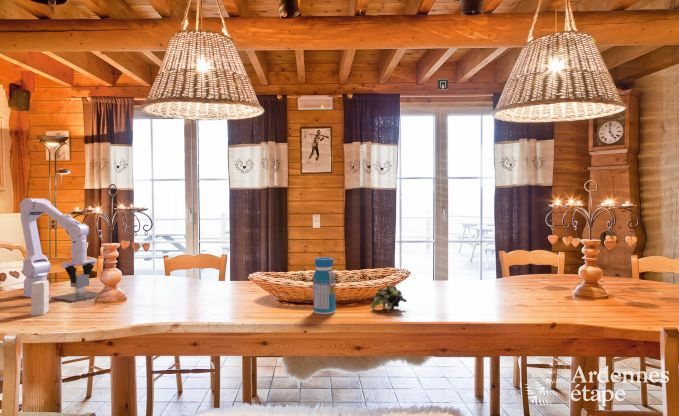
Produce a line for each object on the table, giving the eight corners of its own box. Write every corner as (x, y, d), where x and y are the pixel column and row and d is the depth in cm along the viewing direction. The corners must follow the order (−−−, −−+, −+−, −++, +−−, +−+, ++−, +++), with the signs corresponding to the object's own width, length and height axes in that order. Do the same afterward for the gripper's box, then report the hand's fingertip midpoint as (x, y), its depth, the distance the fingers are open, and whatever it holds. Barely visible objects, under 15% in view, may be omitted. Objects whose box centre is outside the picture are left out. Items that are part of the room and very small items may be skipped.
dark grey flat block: (51, 298, 198) (50, 289, 198) (87, 292, 212) (86, 283, 211) (72, 302, 190) (72, 292, 190) (108, 295, 204) (107, 286, 204)
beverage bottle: (315, 315, 163) (315, 260, 163) (311, 310, 171) (310, 257, 171) (338, 313, 165) (337, 259, 165) (332, 308, 173) (332, 256, 173)
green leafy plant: (391, 322, 173) (409, 296, 174) (389, 324, 163) (409, 297, 163) (367, 304, 176) (385, 279, 176) (364, 305, 165) (383, 278, 166)
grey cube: (70, 286, 200) (70, 275, 199) (82, 284, 204) (82, 273, 204) (77, 287, 197) (77, 276, 197) (89, 285, 201) (89, 274, 201)
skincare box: (36, 312, 173) (35, 280, 173) (49, 311, 174) (49, 280, 174) (30, 316, 167) (30, 283, 167) (44, 315, 168) (44, 282, 168)
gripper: (67, 253, 192) (68, 285, 192) (100, 250, 205) (100, 280, 205) (58, 252, 196) (59, 284, 196) (91, 249, 208) (91, 278, 208)
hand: (79, 281), depth 201 cm, fingers closed on grey cube, 5 cm apart
